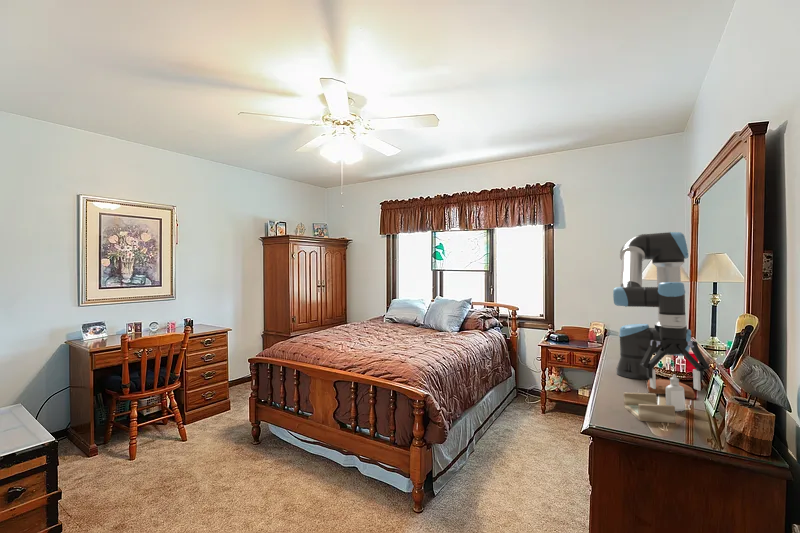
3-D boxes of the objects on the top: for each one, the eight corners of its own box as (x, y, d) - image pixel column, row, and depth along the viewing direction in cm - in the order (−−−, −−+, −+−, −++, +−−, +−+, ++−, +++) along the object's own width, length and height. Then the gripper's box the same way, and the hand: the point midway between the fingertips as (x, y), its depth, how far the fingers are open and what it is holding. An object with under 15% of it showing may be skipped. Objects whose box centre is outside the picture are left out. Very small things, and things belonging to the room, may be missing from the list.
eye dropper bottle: (687, 412, 127) (686, 376, 128) (667, 410, 129) (666, 375, 130) (683, 408, 131) (682, 373, 132) (664, 406, 133) (663, 372, 134)
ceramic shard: (687, 376, 153) (696, 392, 140) (685, 391, 154) (693, 408, 141) (644, 368, 160) (648, 382, 146) (642, 382, 161) (646, 398, 147)
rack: (624, 406, 134) (623, 392, 134) (655, 408, 132) (654, 393, 132) (640, 421, 121) (639, 405, 121) (675, 422, 119) (674, 406, 119)
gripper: (637, 327, 130) (639, 390, 129) (720, 328, 125) (723, 393, 124) (628, 324, 137) (630, 384, 136) (706, 325, 132) (709, 386, 132)
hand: (674, 388), depth 130 cm, fingers open, 13 cm apart
